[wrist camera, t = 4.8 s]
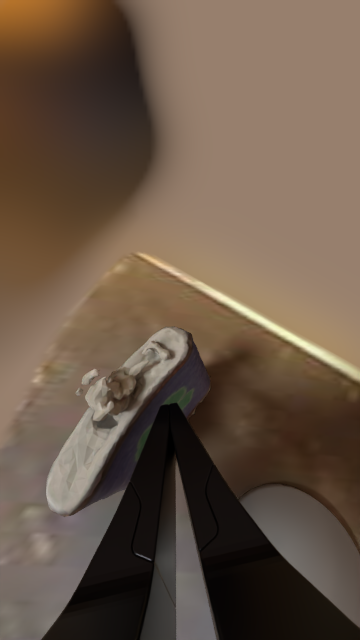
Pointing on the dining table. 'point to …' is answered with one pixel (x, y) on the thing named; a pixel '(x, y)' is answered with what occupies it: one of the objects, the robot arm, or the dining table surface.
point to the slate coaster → (309, 542)
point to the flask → (124, 419)
